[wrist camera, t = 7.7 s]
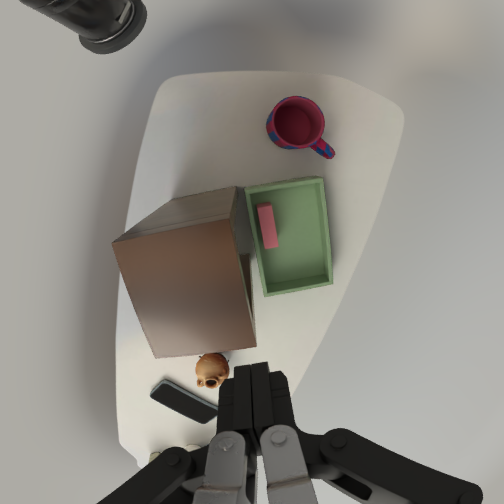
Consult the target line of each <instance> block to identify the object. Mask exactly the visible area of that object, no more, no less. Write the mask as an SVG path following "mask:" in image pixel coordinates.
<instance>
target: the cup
mask: <svg viewBox="0 0 504 504" xmlns="http://www.w3.org/2000/svg"><path fill="white" fill-rule="evenodd" d="M324 127H325V121H324V116H323V113H322V111H321V110H320V108H319V107H318V106H317V105H316V104H315V103H314V102H313V101H311V100H310V99H308V98H305V97H301V96H292V97H287V98H285V99H283V100H281V101H280V102H279V103H278V104H277V105H276V106H275V107H274V109H273V110H272V112H271V113H270V115H269V116H268V119H267V122H266V129H267V133H268V135H269V137H270V139H271V140H272V141H273V142H274V143H275V144H276V145H278V146H280V147H282V148H285V149H299V148H306V147H311V148H312V149H313V150H315V151H316V152H317V153H319V154H320V155H322V156H323V157H325V158H327V159H332V158H333V157H334V155H335V151H334V150H333V149H332V147H331V146H330V145H328V144H327V143H326V142H325V141H324V140H323V139H321V138H320V137H321V136H322V134H323V131H324Z"/></svg>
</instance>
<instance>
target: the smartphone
mask: <svg viewBox="0 0 504 504" xmlns="http://www.w3.org/2000/svg"><path fill="white" fill-rule="evenodd" d="M150 397H151V398H152V399H154V400H155V401H157V402H159V403H161V404H163V405H165V406H166V407H168V408H170V409H172V410H174V411H176V412H178V413H180V414H182V415H184V416H186V417H188V418H190V419H192V420H194V421H196V422H198V423H201V424H206V423H208V422H209V421H211V420H212V419H214V418H215V417H217V415H218V407H216V406H214V405H212V404H210V403H208V402H206V401H204V400H202V399H200V398H198V397H196V396H194V395H193V394H191V393H189V392H187V391H185V390H183V389H182V388H180V387H178V386H176V385H174V384H173V383H171V382H169V381H167V380H163V381H162V382H161V383H160V384H159V385H158V386H156V387H155V388H154V389H153V390H152V391H151V393H150Z"/></svg>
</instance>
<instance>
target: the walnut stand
mask: <svg viewBox="0 0 504 504" xmlns="http://www.w3.org/2000/svg"><path fill="white" fill-rule="evenodd" d="M237 200H238V193H237V188H236V186H234V187H229V188H224V189H219V190H214V191H209V192H204V193H199V194H195V195H190V196H186V197H181V198H177V199H172V200H170V201H169V202H167V203H166V204H164V205H163V206H161V207H160V208H158V209H157V210H156V211H154V212H153V213H151V214H150V215H149V216H147V217H146V218H144V219H143V220H142V221H140V222H139V223H138V224H136V225H135V226H134V227H132V228H131V229H130V230H128V231H127V232H126V233H124V234H123V235H122V236H120V237H119V238H118V239H116V240H115V241H114V242H112V246H113V250H114V253H115V256H116V259H117V262H118V265H119V268H120V271H121V274H122V277H123V280H124V283H125V285H126V288H127V291H128V294H129V296H130V299H131V301H132V304H133V307H134V309H135V312H136V314H137V317H138V319H139V322H140V324H141V326H142V329H143V331H144V334H145V336H146V338H147V340H148V343H149V345H150V347H151V349H152V352H153V354H154V356H155V358H167V357H179V356H189V355H199V354H208V353H216V352H224V351H232V350H239V349H246V348H252V347H257V343H256V329H255V314H254V300H253V285H252V271H251V260H250V255H249V254H244V255H239V253H238V248H237V243H236V238H235V233H234V224H235V216H236V208H237Z"/></svg>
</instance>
